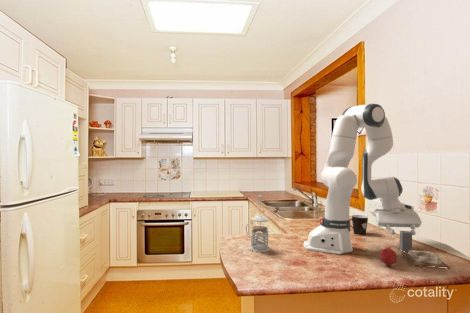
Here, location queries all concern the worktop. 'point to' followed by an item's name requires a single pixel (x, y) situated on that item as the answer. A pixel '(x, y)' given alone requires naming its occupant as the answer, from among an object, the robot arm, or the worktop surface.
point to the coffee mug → (359, 224)
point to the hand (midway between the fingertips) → (403, 234)
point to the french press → (259, 234)
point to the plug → (405, 241)
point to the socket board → (424, 259)
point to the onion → (388, 256)
